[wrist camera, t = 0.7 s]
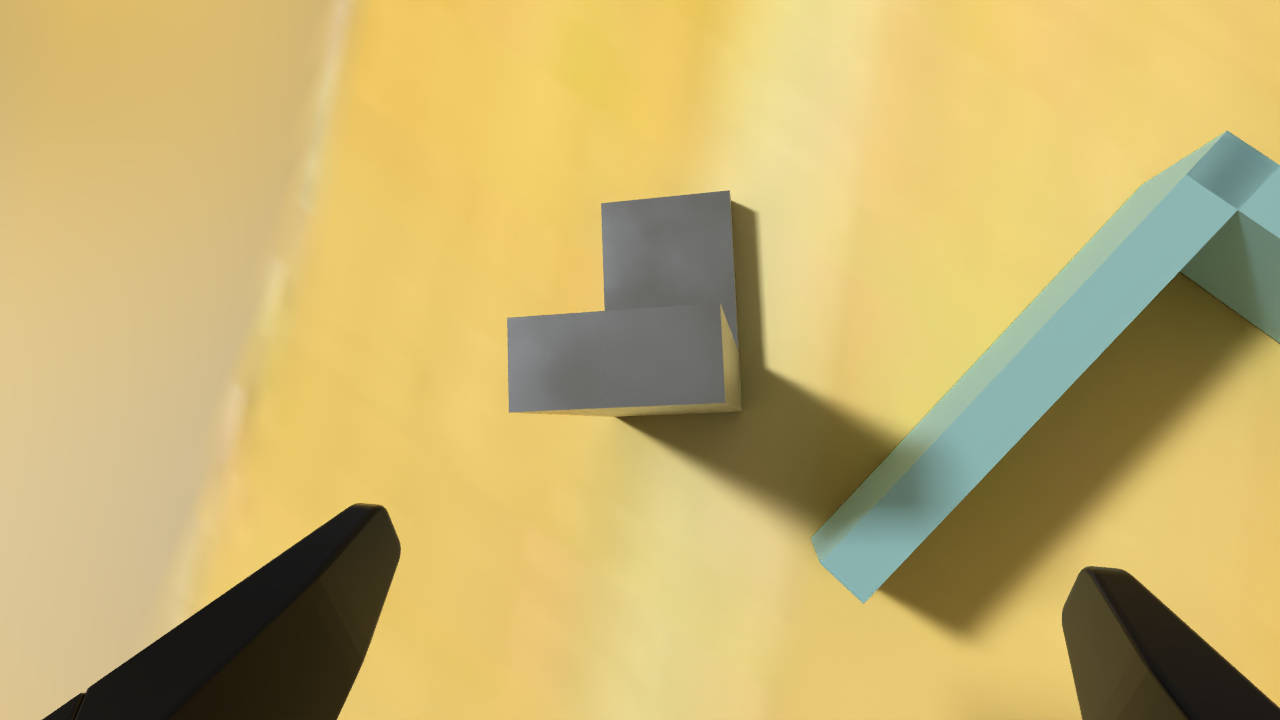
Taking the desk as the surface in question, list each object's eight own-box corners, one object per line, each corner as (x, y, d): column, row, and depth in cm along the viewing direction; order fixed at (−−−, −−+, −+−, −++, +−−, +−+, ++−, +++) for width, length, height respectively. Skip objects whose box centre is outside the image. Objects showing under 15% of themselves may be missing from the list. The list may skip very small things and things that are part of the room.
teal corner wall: (1087, 795, 20) (1166, 886, 16) (810, 538, 22) (820, 563, 18) (1469, 414, 19) (1650, 411, 15) (1141, 184, 21) (1227, 130, 17)
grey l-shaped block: (742, 411, 23) (725, 402, 13) (614, 416, 24) (509, 412, 14) (731, 200, 24) (707, 42, 14) (607, 212, 24) (502, 71, 15)
